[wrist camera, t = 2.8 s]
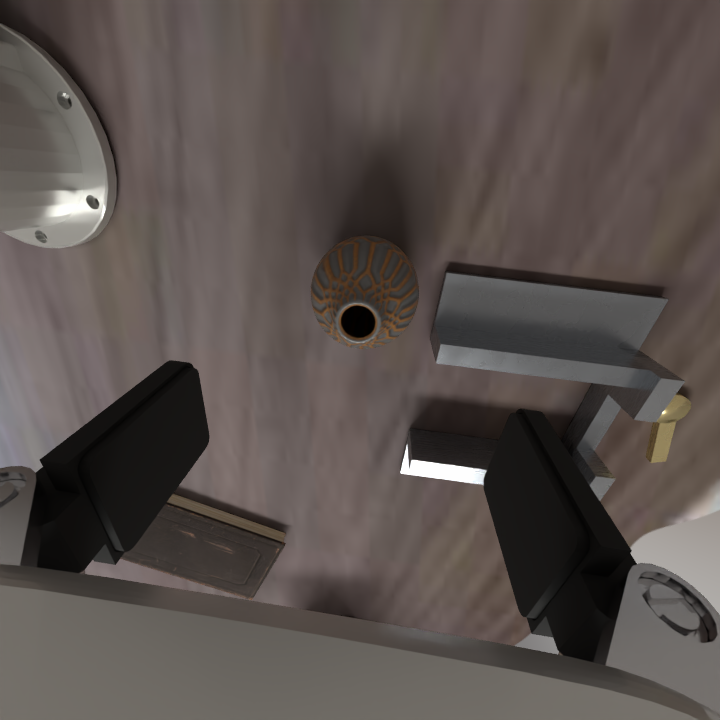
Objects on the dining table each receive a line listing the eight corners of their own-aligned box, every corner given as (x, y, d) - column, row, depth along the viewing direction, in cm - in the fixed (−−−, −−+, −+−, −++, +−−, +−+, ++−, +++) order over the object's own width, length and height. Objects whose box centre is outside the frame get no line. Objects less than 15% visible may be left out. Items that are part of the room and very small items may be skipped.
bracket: (445, 270, 23) (457, 291, 19) (662, 296, 23) (726, 323, 18) (400, 468, 33) (401, 511, 29) (550, 489, 33) (574, 535, 29)
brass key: (647, 393, 27) (654, 399, 26) (686, 388, 26) (694, 394, 26) (635, 457, 30) (640, 463, 30) (669, 453, 30) (676, 460, 29)
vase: (368, 337, 26) (359, 400, 19) (304, 278, 24) (265, 321, 17) (434, 279, 24) (455, 324, 16) (368, 206, 22) (355, 219, 14)
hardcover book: (107, 463, 38) (91, 479, 36) (290, 528, 41) (284, 545, 39) (101, 534, 45) (88, 551, 43) (256, 584, 48) (250, 602, 46)
